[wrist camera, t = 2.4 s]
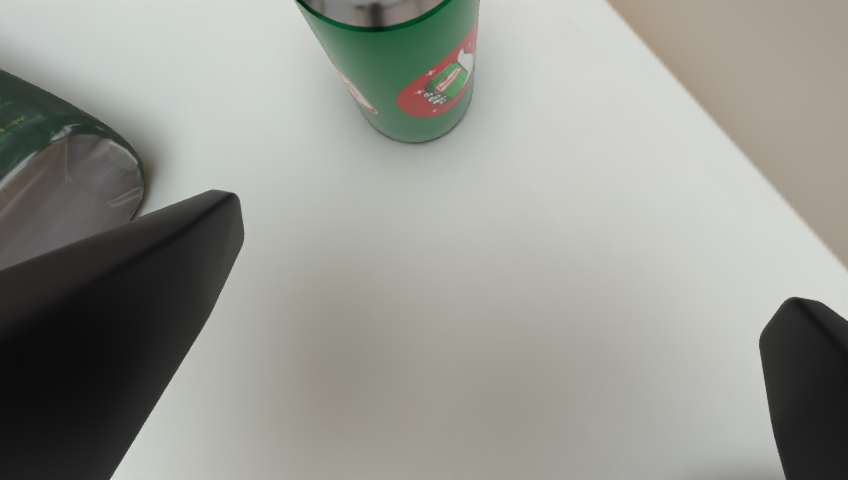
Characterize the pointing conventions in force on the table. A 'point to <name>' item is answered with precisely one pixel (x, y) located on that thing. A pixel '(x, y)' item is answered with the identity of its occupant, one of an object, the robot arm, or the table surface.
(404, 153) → the table surface
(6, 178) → the coffee jar
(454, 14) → the soda can
